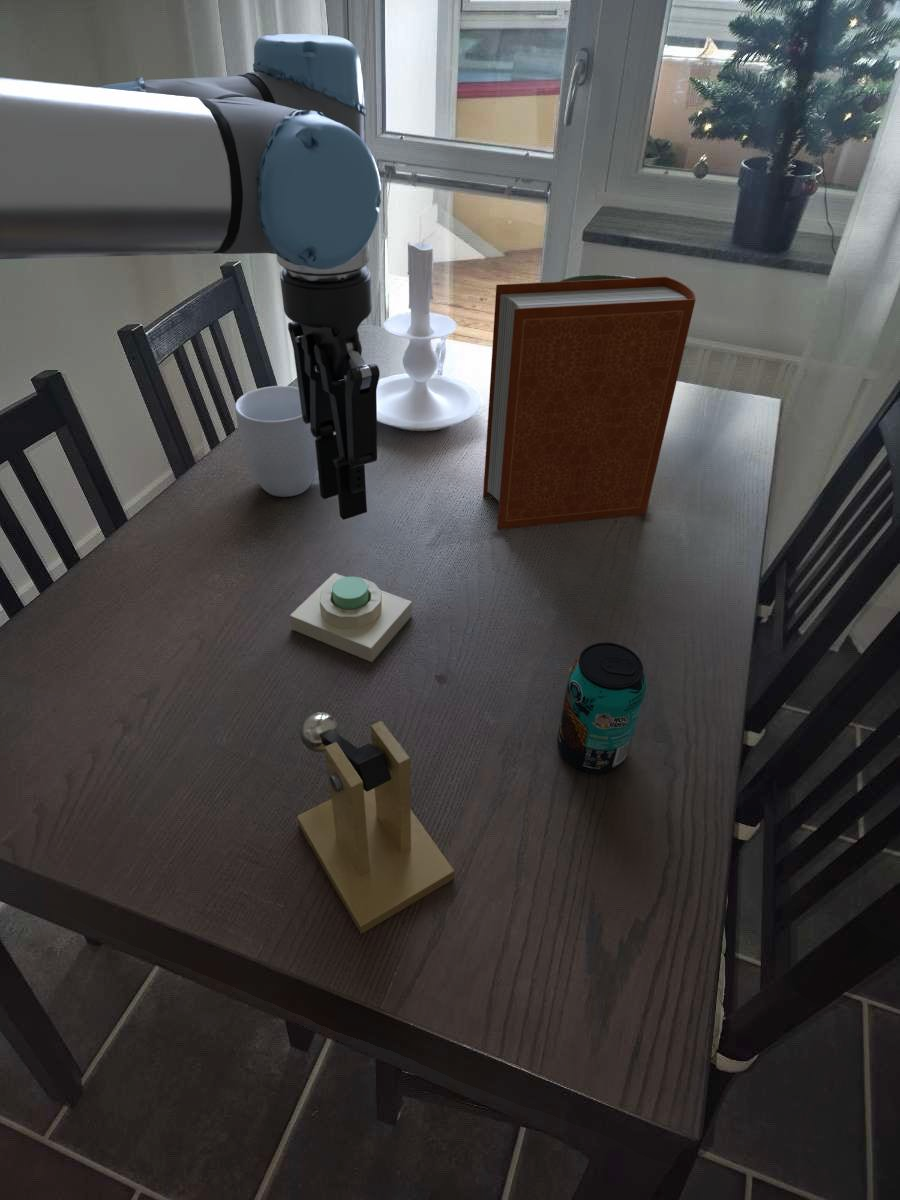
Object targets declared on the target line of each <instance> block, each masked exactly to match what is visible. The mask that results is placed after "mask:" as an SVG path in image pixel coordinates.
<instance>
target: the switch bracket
mask: <svg viewBox="0 0 900 1200" xmlns="http://www.w3.org/2000/svg"><path fill="white" fill-rule="evenodd" d="M370 736H371V745H373V746H374V747H376V748H377V749H379V750H380V751H382V752H383V753H384V756H385V760H386V763H387V766H388V769H389V772H390V776H391V780H389V781H387V782H386V783H384V784H382V785H380V786H378V787H376V788H374V789H372V790H370V791H368V792H366V791H365V790H364V789H363V781H362V779H361V778H360V776H359V775H358V774H357V772H356V771H355V769H354V768H353V766H352V765H351V763H350V762H349V760H348V759H347V757H346V756H345V754H344V753H343V751H342V750H341V748H340V747H339V745H338V744H337V742H334V743H332V744H330V745H328V746H326V747H325V760H326V768H327V776H328V783H329V784H328V785H329V791H330V792H329V793H330V799H328V800H326V801H324V802H322V803H320V804H318V805H316V806H314V807H312V808H310V809H308V810H306V811H304V812H302V813H299V814H298V815H297V816H296V819H297V825H298V827H299V828H300V830H301V832H302V833H303V836H304V837H305V839H306V841H307V843H308V844H309V846H310V848H311V849H312V851H313V853H314V855H315V857H316V858H317V860H318V861H319V863H320V865H321V867H322V868H323V870H324V873H325V874H326V876H327V877H328V878H329V881H330V883H331V884H332V886H333V888H334V890H335V891H336V893H337V895H338V896H339V898H340V900H341V902H342V903H343V905H344V908H345V909H346V911H347V912H348V914H349V916H350V918H351V919H352V921H353V923H354V924H355V926H356V928H357V930H358V931H359V933H360V935H362V934H364V933H366V932H367V931H369V930H371V929H372V928H374V927H375V926H377V925H379V924H381V923H383V922H384V921H385V920H387V919H389V918H391V917H393V916H394V915H396V914H398V913H399V912H401V911H402V910H405V909H406V908H407V907H409V906H411V905H412V904H415V903H416V902H418V901H419V900H421V899H423V898H425V897H426V896H427V895H430V893H432V892H435V891H436V890H437V889H439V888H441V887H442V886H444V885H446V884H447V883H449V882H451V881H453V880H454V879H455V870H454V868H453V866H452V865H451V864H450V863H449V861H448V860H447V858H446V857H445V856H444V854H443V852H442V851H441V850H440V848H439V846H437V844H436V843H435V841H434V840H433V839H432V837H431V835H430V834H429V833H428V831H427V830H426V829H425V827H424V826H423V825H422V822H420V820H419V818H417V816H416V814H415V813H414V811H413V810H412V808H411V759H410V756H409V755H408V754H407V753H406V751H405V749H404V747H403V745H402V744H401V743H400V742H398V741H397V739H396V738H395V736H394V735H393V733H391V731H390V730H389V728H388V727H387V726H386V725H385V723H384V722H383V720H379V721H378V722H375V723H373V724H371V725H370Z"/></svg>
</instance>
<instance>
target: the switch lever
mask: <svg viewBox="0 0 900 1200" xmlns="http://www.w3.org/2000/svg"><path fill="white" fill-rule="evenodd" d="M299 737H300V739H301V743H302V744H303V745H304V746H305V748H307V749H308V750H309V751H310V752H311V751H312V752H314V753H324V752H325V747H326V746H328V745H330V744H332V743H334V742H337V744H338V745H339V747H340V748H341V750H342V751H343V753H344V754H345V756H346V757H347V759H348V760H349V762H350V763H351V765H352V766H353V768H354V769H355V771H356V772H357V774H358V775H359V776H360V778H361V779H362V781H363V789H364V790H365V791H366V792H368V791H370V790H372V789H374V788H376V787H378V786H380V785H382V784H384V783H386V782H387V781H389V780H391V776H390V772H389V769H388V766H387V763H386V760H385V756H384V753H383V752H382V751H380V750H379V749H377V748H376V747H374V746H373V745H372V743H370V742H368V743H366V744H364V745H362V746H360V747H357V746H356V745H354V744H353V743H351V742H349V741H348V740H347V739H345V738H344V737H343V736H341V726H340V722H339V721H338V719H337V718H336V717H335V716H334V715H332V714H330V713H329V712H327V711H316V712H315V711H314V712H313V713H311V714H309V715H308V716H306V717H305V718H304V720H303V721H302V723H301V725H300V728H299Z"/></svg>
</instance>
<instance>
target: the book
mask: <svg viewBox="0 0 900 1200" xmlns="http://www.w3.org/2000/svg"><path fill="white" fill-rule="evenodd" d="M696 301H697V298H696V294H695V292H694V291H693V290H692V289H691V287H689V286H688V285H686V284H684V283H682V282H681V281H679V280H676V279H674V278H671V277H668V276H650V277H647V276H646V277H632V278H626V279H605V280H583V281H562V282H559V281H545V282H544V281H543V282H524V283H523V282H522V283H501V284H500V283H499V284H496V285H495V300H494V318H493V329H492V330H493V331H492V333H493V334H492V349H491V363H490V379H489V383H490V384H489V393H488V394H489V397H488V410H487V411H488V412H487V429H486V443H485V458H484V459H485V460H484V477H483V489H482V491H483V493H482V498H483V499H488V498H489V499H490V498H495V499H496V500H497V502H498V512H497V522H496V523H497V524H496V529H497V530H505V529H506V530H507V529H515V528H517V529H518V528H526V527H536V526H543V525H544V526H545V525H553V524H563V523H572V522H573V523H574V522H581V521H583V522H584V521H591V520H593V521H594V520H601V519H609V518H621V517H630V516H639V515H646V514H647V511H648V507H649V503H650V498H651V494H652V489H653V485H654V481H655V477H656V472H657V467H658V463H659V459H660V454H661V450H662V446H663V443H664V442H663V441H664V438H665V432H666V430H667V426H668V425H667V424H668V420H669V416H670V411H671V407H672V404H673V399H674V394H675V390H676V387H677V386H676V385H677V382H678V377H679V373H680V368H681V365H682V361H683V356H684V353H685V352H684V351H685V347H686V342H687V339H688V336H689V335H688V334H689V331H690V330H689V329H690V326H691V323H692V317H693V313H694V309H695V304H696Z"/></svg>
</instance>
